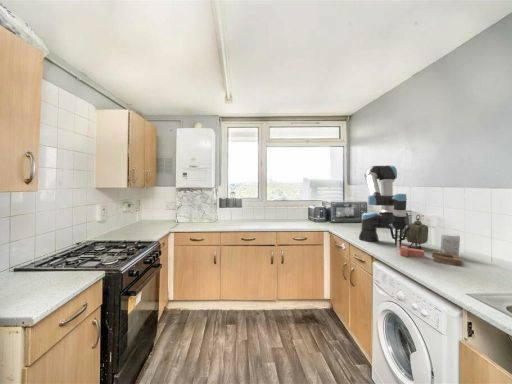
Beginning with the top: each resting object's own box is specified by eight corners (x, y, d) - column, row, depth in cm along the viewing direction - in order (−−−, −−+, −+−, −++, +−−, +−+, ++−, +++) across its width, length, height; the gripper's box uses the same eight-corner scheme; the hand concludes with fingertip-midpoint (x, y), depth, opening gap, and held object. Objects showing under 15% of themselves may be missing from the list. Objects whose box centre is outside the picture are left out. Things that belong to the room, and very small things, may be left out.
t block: (400, 251, 164) (401, 245, 163) (423, 254, 156) (423, 248, 156) (400, 255, 153) (400, 250, 153) (424, 259, 145) (424, 253, 145)
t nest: (432, 255, 154) (432, 251, 154) (457, 259, 147) (457, 254, 146) (433, 261, 142) (434, 256, 142) (461, 266, 135) (461, 261, 135)
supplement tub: (442, 252, 161) (443, 232, 160) (460, 256, 153) (461, 234, 153) (438, 255, 154) (439, 234, 154) (457, 259, 147) (458, 236, 146)
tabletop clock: (414, 244, 181) (415, 213, 180) (428, 247, 173) (429, 214, 172) (406, 247, 173) (407, 214, 172) (420, 250, 165) (421, 216, 164)
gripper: (387, 215, 158) (386, 248, 159) (410, 217, 151) (409, 252, 152) (388, 214, 165) (387, 246, 166) (410, 216, 157) (409, 249, 158)
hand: (397, 249), depth 159 cm, fingers closed
